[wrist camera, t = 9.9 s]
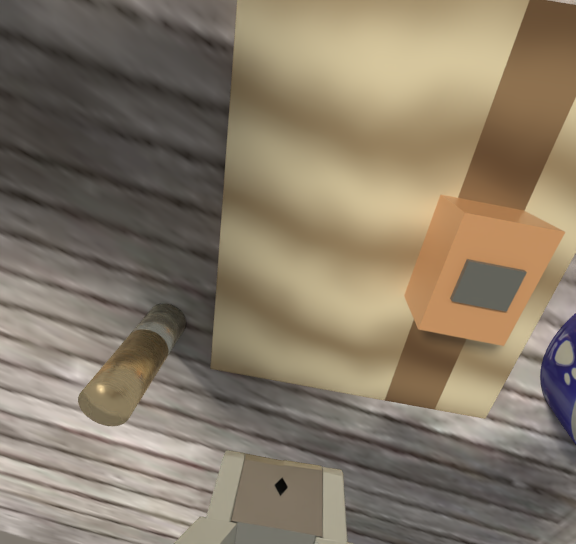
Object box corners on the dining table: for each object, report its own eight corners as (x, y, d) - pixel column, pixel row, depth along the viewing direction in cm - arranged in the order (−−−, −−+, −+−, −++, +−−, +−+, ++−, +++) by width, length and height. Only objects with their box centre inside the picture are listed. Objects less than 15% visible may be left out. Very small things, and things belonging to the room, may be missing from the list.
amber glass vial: (148, 300, 28) (75, 381, 19) (186, 307, 27) (129, 391, 19) (149, 332, 29) (80, 421, 21) (185, 338, 29) (131, 430, 21)
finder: (440, 194, 21) (467, 214, 17) (523, 210, 21) (569, 234, 17) (403, 295, 24) (419, 332, 20) (476, 310, 24) (506, 349, 20)
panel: (245, -40, 18) (240, -50, 17) (676, 30, 18) (699, 24, 17) (214, 359, 29) (210, 368, 28) (479, 407, 29) (485, 418, 28)
